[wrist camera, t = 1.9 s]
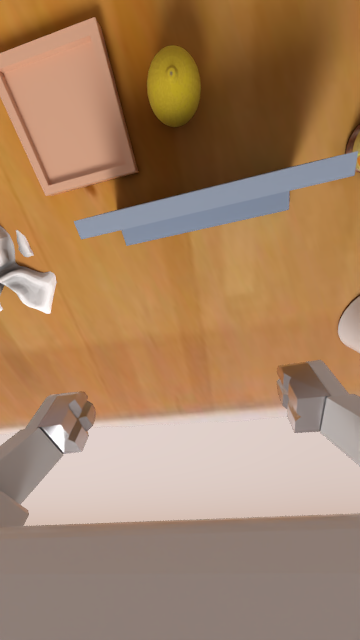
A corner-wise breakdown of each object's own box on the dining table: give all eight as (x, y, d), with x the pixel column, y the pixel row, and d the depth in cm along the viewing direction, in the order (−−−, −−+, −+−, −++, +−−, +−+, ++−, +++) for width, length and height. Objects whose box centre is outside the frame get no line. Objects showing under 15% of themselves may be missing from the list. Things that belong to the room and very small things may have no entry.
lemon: (149, 73, 25) (134, 29, 18) (198, 67, 24) (202, 19, 17) (156, 136, 28) (145, 118, 21) (199, 131, 27) (203, 111, 20)
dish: (101, 28, 23) (94, 16, 22) (138, 172, 30) (135, 171, 28) (-4, 67, 25) (-17, 59, 23) (52, 195, 31) (45, 195, 30)
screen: (287, 167, 29) (358, 150, 17) (286, 209, 31) (347, 220, 19) (116, 209, 32) (73, 221, 20) (128, 244, 34) (95, 273, 22)
